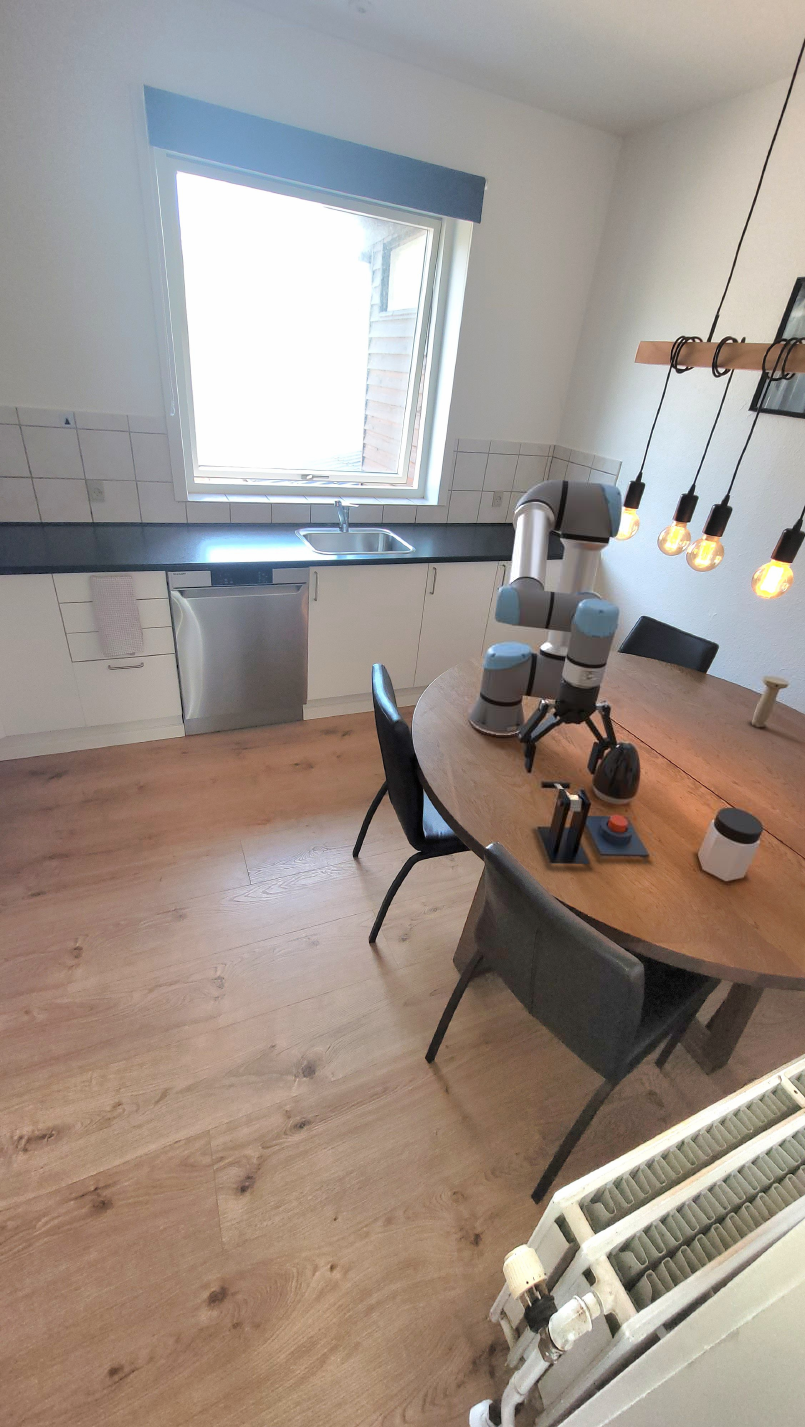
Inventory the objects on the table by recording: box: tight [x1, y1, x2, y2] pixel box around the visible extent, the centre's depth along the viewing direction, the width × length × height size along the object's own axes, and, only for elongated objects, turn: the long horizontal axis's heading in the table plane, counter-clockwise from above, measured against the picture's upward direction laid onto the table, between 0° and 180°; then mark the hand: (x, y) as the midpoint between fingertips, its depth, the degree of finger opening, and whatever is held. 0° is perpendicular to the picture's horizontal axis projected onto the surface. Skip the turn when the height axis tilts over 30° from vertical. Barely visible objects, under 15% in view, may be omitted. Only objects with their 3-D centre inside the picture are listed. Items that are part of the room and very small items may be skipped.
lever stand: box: [536, 788, 592, 865], centre depth 117 cm, size 11×8×14 cm
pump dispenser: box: [591, 741, 641, 806], centre depth 134 cm, size 10×10×15 cm
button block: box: [585, 815, 650, 857], centre depth 123 cm, size 12×10×4 cm
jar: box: [697, 807, 764, 882], centre depth 117 cm, size 9×8×12 cm
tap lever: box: [540, 780, 582, 812], centre depth 120 cm, size 13×6×2 cm, turn 2°
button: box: [608, 814, 628, 833], centre depth 122 cm, size 4×4×2 cm
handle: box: [751, 675, 790, 728], centre depth 171 cm, size 5×6×15 cm
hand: (559, 770), depth 124 cm, fingers open, 13 cm apart
